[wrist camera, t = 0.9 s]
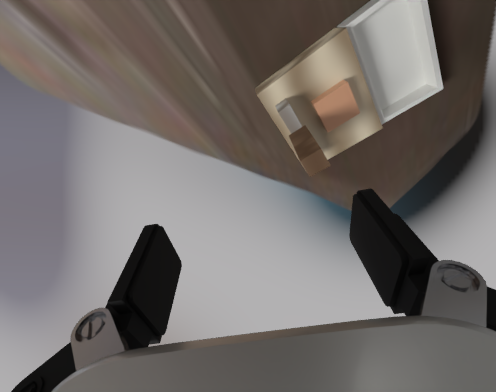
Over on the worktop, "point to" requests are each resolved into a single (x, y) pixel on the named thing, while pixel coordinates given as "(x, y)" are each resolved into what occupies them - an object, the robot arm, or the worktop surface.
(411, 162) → the worktop surface
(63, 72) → the worktop surface
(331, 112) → the block
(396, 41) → the box
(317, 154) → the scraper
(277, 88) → the board
